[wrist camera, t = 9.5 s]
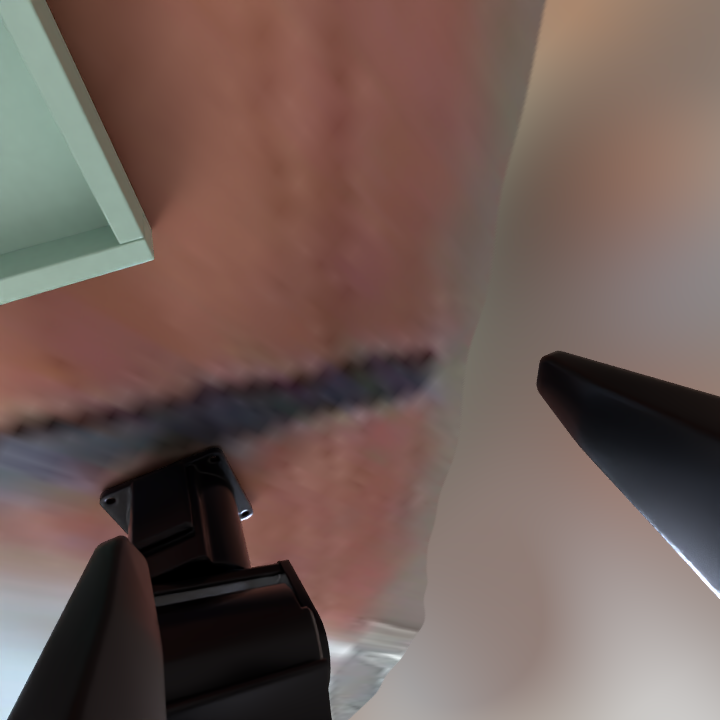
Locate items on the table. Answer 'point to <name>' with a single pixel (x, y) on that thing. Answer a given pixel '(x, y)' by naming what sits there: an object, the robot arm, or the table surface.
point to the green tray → (57, 167)
